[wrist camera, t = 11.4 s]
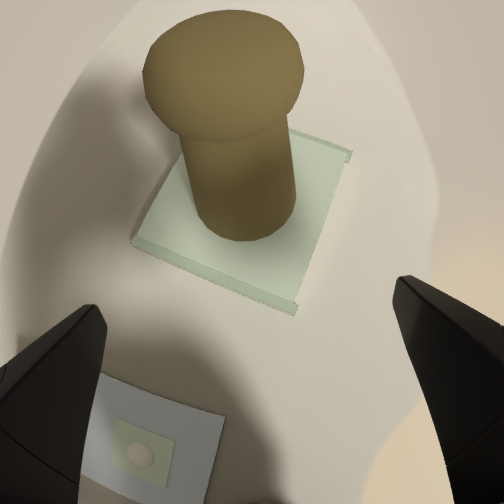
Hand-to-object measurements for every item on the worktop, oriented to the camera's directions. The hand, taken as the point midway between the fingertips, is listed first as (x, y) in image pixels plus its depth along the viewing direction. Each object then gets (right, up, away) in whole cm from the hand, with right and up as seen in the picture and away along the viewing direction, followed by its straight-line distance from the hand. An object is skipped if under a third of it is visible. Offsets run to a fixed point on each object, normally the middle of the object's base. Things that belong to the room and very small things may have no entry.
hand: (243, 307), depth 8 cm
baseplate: (0, +5, +10) cm, 11 cm away
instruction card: (-8, -11, +6) cm, 15 cm away
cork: (0, +5, +9) cm, 11 cm away
